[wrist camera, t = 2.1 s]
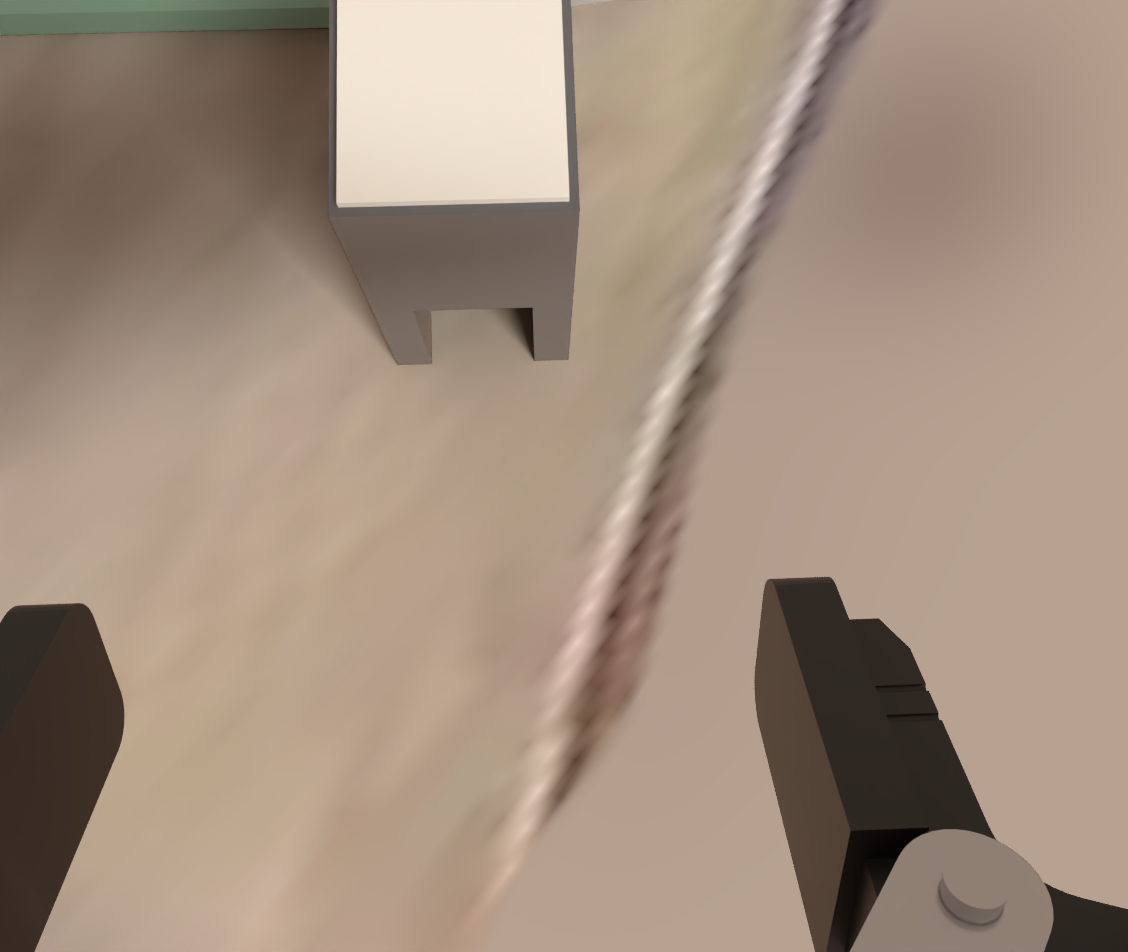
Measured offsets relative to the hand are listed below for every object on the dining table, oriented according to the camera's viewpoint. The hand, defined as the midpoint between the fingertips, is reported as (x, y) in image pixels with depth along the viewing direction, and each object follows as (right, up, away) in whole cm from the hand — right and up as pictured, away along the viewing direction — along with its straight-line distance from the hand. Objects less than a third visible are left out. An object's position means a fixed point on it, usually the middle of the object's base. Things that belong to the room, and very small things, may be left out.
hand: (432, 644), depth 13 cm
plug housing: (-1, +8, +19) cm, 20 cm away
